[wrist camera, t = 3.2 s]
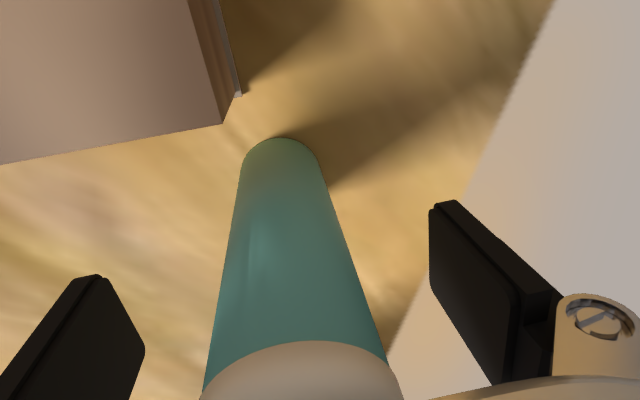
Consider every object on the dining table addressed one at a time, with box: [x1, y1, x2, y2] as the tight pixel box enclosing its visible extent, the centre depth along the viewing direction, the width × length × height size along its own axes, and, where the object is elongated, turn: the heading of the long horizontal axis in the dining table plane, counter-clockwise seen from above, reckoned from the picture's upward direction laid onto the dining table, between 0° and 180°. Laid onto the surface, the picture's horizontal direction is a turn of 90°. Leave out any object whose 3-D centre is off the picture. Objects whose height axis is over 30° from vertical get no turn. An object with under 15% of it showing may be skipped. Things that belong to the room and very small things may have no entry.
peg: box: [199, 138, 404, 400], centre depth 11 cm, size 4×4×12 cm
